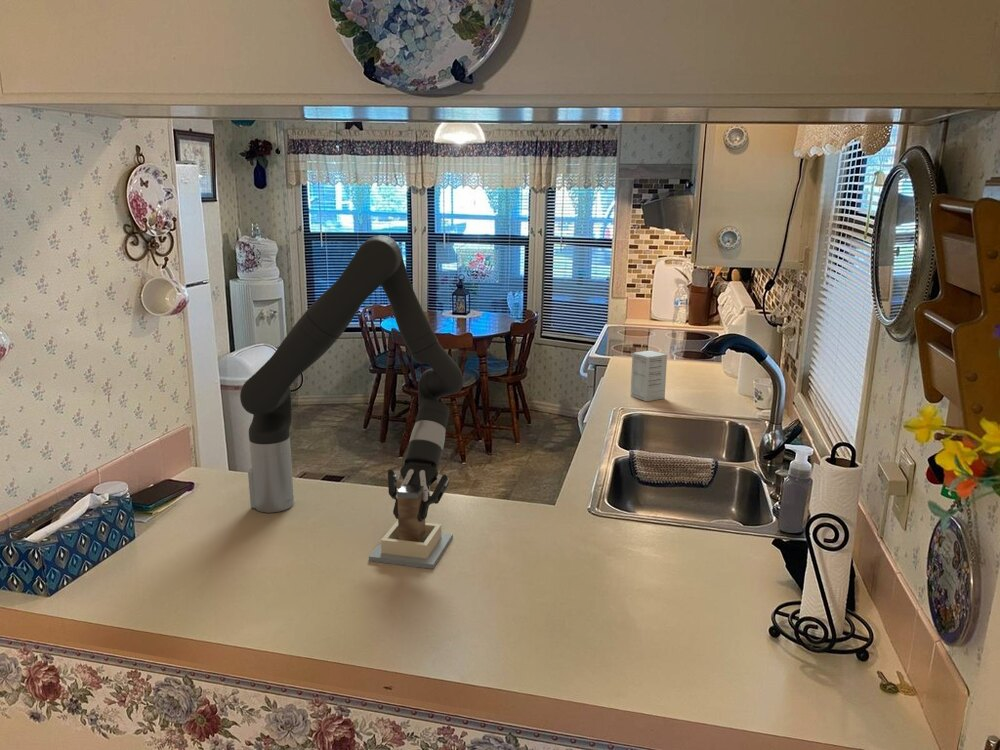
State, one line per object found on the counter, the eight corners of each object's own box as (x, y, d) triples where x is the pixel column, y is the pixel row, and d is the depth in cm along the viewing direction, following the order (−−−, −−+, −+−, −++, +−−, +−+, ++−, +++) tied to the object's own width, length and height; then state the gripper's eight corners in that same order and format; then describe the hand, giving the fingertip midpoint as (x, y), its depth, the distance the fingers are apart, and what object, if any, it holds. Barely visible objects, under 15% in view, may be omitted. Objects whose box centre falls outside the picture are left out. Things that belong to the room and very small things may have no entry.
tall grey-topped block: (398, 539, 154) (397, 491, 152) (406, 530, 159) (404, 483, 156) (418, 542, 153) (417, 493, 151) (425, 532, 158) (424, 485, 155)
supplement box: (665, 398, 272) (668, 354, 268) (646, 402, 267) (649, 357, 263) (648, 392, 280) (650, 349, 276) (629, 395, 275) (631, 352, 271)
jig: (368, 560, 152) (368, 543, 151) (393, 531, 165) (392, 514, 164) (433, 569, 149) (432, 551, 148) (452, 538, 162) (452, 521, 161)
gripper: (390, 435, 160) (371, 509, 151) (453, 440, 157) (437, 516, 148) (400, 450, 166) (381, 522, 158) (460, 455, 163) (445, 529, 155)
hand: (408, 518), depth 153 cm, fingers closed on tall grey-topped block, 4 cm apart
